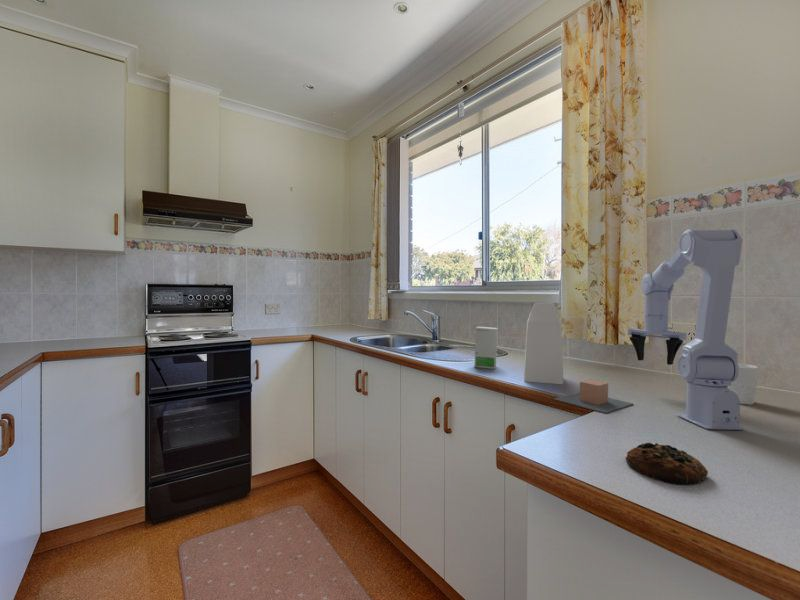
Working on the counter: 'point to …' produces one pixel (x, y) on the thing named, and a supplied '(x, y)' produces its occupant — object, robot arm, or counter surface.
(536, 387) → the counter surface
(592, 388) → the cube
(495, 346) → the skincare box
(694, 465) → the bread roll
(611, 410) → the panel
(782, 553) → the counter surface
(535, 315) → the milk
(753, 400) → the white cup
